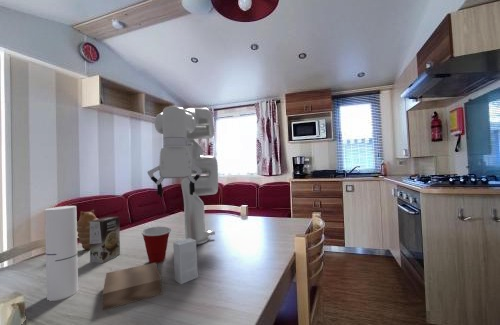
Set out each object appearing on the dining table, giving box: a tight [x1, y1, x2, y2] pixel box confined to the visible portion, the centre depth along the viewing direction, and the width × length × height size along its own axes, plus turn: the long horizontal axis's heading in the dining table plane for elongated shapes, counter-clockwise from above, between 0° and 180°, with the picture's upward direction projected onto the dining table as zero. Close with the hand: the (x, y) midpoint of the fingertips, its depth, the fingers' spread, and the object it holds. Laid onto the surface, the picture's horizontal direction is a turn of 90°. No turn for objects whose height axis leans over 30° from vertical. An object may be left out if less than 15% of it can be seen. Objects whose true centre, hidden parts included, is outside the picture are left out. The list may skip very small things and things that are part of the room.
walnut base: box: [102, 263, 163, 310], centre depth 68 cm, size 14×14×4 cm
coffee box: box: [89, 216, 121, 264], centre depth 95 cm, size 9×6×16 cm
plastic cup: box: [141, 225, 172, 264], centre depth 90 cm, size 11×11×12 cm
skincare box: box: [172, 238, 199, 285], centre depth 73 cm, size 6×4×12 cm
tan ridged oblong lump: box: [77, 209, 99, 250], centre depth 107 cm, size 9×8×18 cm
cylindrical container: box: [44, 205, 79, 302], centre depth 68 cm, size 7×7×25 cm
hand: (176, 195), depth 76 cm, fingers open, 9 cm apart
